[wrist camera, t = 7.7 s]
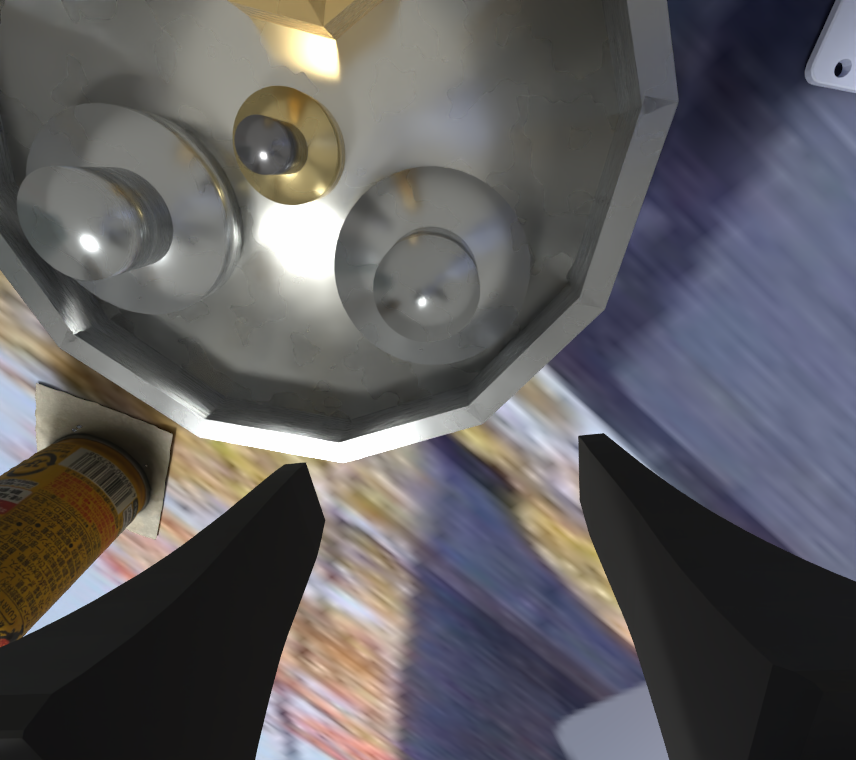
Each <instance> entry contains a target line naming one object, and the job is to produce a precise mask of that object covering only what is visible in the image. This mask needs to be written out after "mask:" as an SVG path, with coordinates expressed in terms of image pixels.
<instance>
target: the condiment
mask: <svg viewBox="0 0 856 760" xmlns="http://www.w3.org/2000/svg"><path fill="white" fill-rule="evenodd" d="M35 396H36V397H35V398H36V411H35V416H36V429H35V431H36V439H37V441H36V442H37V453H35V454H34V455H33V456H31V457H30V458H29V459H27V460H24V461H23V462H21V463H20V464H19V465H17V466H16V467H13V468H11V469H10V470H9V471H7V472H6V473H4V474H2V475H1V476H0V647H2V646H5V645H7V644H9V643H11V642H13V641H16V640H18V639H20V638H22V637H23V636H24V635H25V634H26V633H27V632H28V631H29V630H30V629H31V627H32V626H33V625H34V624H35V623H36V622H37V621H38V620H39V619H40V618H41V617H42V616H43V615H44V614H45V613H46V612H47V611H48V610H49V609H50V608H51V607H52V605H53V604H54V603H55V602H56V601H57V600H58V599H59V598H60V597H61V596H62V595H63V594H64V593H65V592H66V591H67V590H68V589H69V588H70V587H71V585H72V584H73V583H74V582H75V581H76V580H77V579H78V578H79V577H80V576H81V575H82V574H83V573H84V572H85V571H86V570H87V569H88V568H89V566H90V565H91V564H92V563H93V562H94V561H95V560H96V559H97V558H98V557H99V556H100V555H101V554H102V553H103V552H104V551H105V550H106V549H107V548H108V547H109V545H110V544H111V543H112V542H113V541H114V540H115V539H116V538H117V537H118V536H119V535H120V534H121V533H122V532H123V531H124V530H125V529H127V530H129V531H131V532H133V533H137V534H139V535H142V536H145V537H148V538H152V539H155V540H156V537H157V531H158V526H159V521H160V514H161V510H162V505H163V498H164V490H165V479H166V476H167V469H168V465H169V458H170V447H171V442H172V436H173V434H171V433H169V432H167V431H164V430H161V429H158V428H157V427H156V426H154V425H151V424H148V423H146V422H143V421H141V420H138V419H135V418H132V417H130V416H128V415H126V414H123V413H120V412H117V411H115V410H112V409H109V408H106V407H103V406H100V405H99V404H98V403H96V402H90V401H86V400H83V399H80V398H77V397H74V396H72V395H70V394H67V393H65V392H62V391H57V390H54V389H51V388H48V387H45V386H43V385H40V384H37V383H36V394H35ZM78 425H81V426H82V427H81V428H77V426H78ZM72 429H76V431H72ZM145 465H147V466H148V467H147V466H145Z"/></svg>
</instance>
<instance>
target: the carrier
mask: <svg viewBox="0 0 856 760" xmlns="http://www.w3.org/2000/svg"><path fill="white" fill-rule="evenodd" d="M677 101H679V99H678V91H677V82H676V74H675V65H674V57H673V48H672V40H671V32H670V23H669V15H668V6H667V0H383V1H382V2H381V3H380V4H379V5H377V6H376V7H375V8H374V9H373V10H371V11H370V12H369V13H368V14H367V15H366V16H364V17H363V18H362V19H361V20H360V21H358V22H357V23H356V24H355V25H354V26H352V27H351V28H350V29H349V30H348V31H346V32H345V33H344V34H343V35H342V36H341V37H339V38H338V39H337V40H334V39H330V38H326V37H322V36H319V35H315V34H311V33H308V32H304V31H300V30H297V29H293V28H289V27H286V26H282V25H278V24H275V23H271V22H267V21H264V20H260V19H256V18H253V17H249V16H248V15H246V14H245V13H244V12H242V11H241V10H240V9H238V8H237V7H235V6H234V5H233V4H231V3H230V2H229V1H227V0H0V270H1V271H2V273H3V274H4V275H5V277H6V278H7V279H8V281H9V282H10V283H11V285H12V286H13V287H14V289H15V290H16V291H17V292H18V294H19V295H20V296H21V298H22V299H23V300H24V302H25V303H26V304H27V306H28V307H29V308H30V310H31V311H32V312H33V314H34V315H35V316H36V318H37V319H38V320H39V322H40V323H41V324H42V326H43V327H44V328H45V330H46V331H47V332H48V334H49V335H50V336H51V338H52V339H53V340H54V341H55V343H56V344H57V345H58V347H60V349H62V350H64V351H65V352H67V353H68V354H70V355H71V356H73V357H75V358H76V359H78V360H79V361H81V362H82V363H84V364H85V365H87V366H89V367H90V368H92V369H93V370H95V371H96V372H98V373H100V374H101V375H103V376H104V377H106V378H107V379H109V380H111V381H112V382H114V383H115V384H117V385H118V386H120V387H121V388H123V389H125V390H126V391H128V392H129V393H131V394H132V395H134V396H136V397H137V398H139V399H140V400H142V401H143V402H145V403H146V404H148V405H150V406H151V407H153V408H154V409H156V410H157V411H159V412H161V413H162V414H164V415H165V416H167V417H168V418H170V419H172V420H173V421H175V422H176V423H178V424H179V425H181V426H182V427H184V428H186V429H187V430H189V431H190V432H192V433H193V434H195V435H197V436H198V437H201V438H206V439H212V440H218V441H223V442H229V443H234V444H240V445H246V446H251V447H257V448H262V449H268V450H274V451H279V452H285V453H291V454H296V455H302V456H307V457H313V458H319V459H324V460H330V461H336V462H341V463H345V462H348V461H352V460H355V459H359V458H362V457H366V456H370V455H373V454H377V453H380V452H384V451H388V450H391V449H395V448H398V447H402V446H405V445H409V444H413V443H416V442H420V441H423V440H427V439H431V438H434V437H438V436H441V435H445V434H448V433H452V432H456V431H459V430H463V429H466V428H470V427H474V426H477V425H481V424H482V423H484V422H485V421H486V420H487V419H488V418H490V417H491V416H492V415H493V414H494V413H495V412H496V411H497V410H498V409H499V408H500V407H501V406H502V405H503V404H504V403H505V402H507V401H508V400H509V399H510V398H511V397H512V396H513V395H514V394H515V393H516V392H517V391H518V390H519V389H520V388H521V387H522V386H524V385H525V384H526V383H527V382H528V381H529V380H530V379H531V378H532V377H533V376H534V375H535V374H536V373H537V372H538V371H540V370H541V369H542V368H543V367H544V366H545V365H546V364H547V363H548V362H549V361H550V360H551V359H552V358H553V357H554V356H555V355H557V354H558V353H559V352H560V351H561V350H562V349H563V348H564V347H565V346H566V345H567V344H568V343H569V342H570V341H571V340H572V339H574V338H575V337H576V336H577V335H578V334H579V333H580V332H581V331H582V330H583V329H584V328H585V327H586V326H587V325H588V324H590V323H591V322H592V321H593V320H594V319H595V318H596V317H597V316H598V315H599V314H600V313H601V312H602V311H603V310H604V309H605V307H606V304H607V301H608V299H609V296H610V293H611V290H612V287H613V285H614V282H615V279H616V276H617V273H618V271H619V268H620V265H621V262H622V259H623V256H624V254H625V251H626V248H627V245H628V242H629V240H630V237H631V234H632V231H633V228H634V226H635V223H636V220H637V217H638V214H639V212H640V209H641V206H642V203H643V200H644V198H645V195H646V192H647V189H648V186H649V184H650V181H651V178H652V175H653V172H654V170H655V167H656V164H657V161H658V158H659V156H660V153H661V150H662V147H663V144H664V142H665V139H666V136H667V133H668V130H669V128H670V125H671V122H672V119H673V116H674V113H675V111H676V108H677V105H678V102H677Z"/></svg>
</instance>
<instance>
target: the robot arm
mask: <svg viewBox="0 0 856 760" xmlns="http://www.w3.org/2000/svg"><path fill="white" fill-rule="evenodd" d="M838 62H840V63H842V67H843V68H842V72H841V74H840V75H839V76H838V77H836V76H835V74H834V69H835V66H836V65H837V64H838ZM805 79H806V80H807V82H808V83H810V84H812V85H816V86H821V87H826V88H832V89H837V90H842V91H847V92H852V93H856V0H836V1H835V3H834V5H833V7H832V10H831V12H830V14H829V16H828V18H827V21H826V23H825V25H824V27H823V29H822V32H821V34H820V36H819V38H818V41H817V43H816V45H815V47H814V49H813V52H812V54H811V56H810V58H809V61H808V63H807V65H806V69H805ZM578 439H579V488H580V503H581V506H582V510H583V514H584V517H585V521H586V524H587V528H588V531H589V535H590V537H591V540H592V542H593V545H594V547H595V550H596V552H597V554H598V557H599V559H600V562H601V564H602V566H603V569H604V571H605V574H606V576H607V578H608V581H609V583H610V585H611V588H612V590H613V592H614V595H615V597H616V600H617V602H618V604H619V607H620V609H621V611H622V614H623V616H624V618H625V621H626V623H627V626H628V629H629V631H630V634H631V637H632V639H633V642H634V645H635V648H636V652H637V655H638V658H639V661H640V664H641V667H642V671H643V674H644V677H645V680H646V683H647V686H648V689H649V693H650V696H651V699H652V703H653V706H654V710H655V713H656V716H657V719H658V723H659V726H660V729H661V733H662V736H663V739H664V743H665V746H666V750H667V753H668V757H669V760H856V582H855V581H853V580H851V579H848V578H846V577H843V576H841V575H838V574H836V573H833V572H831V571H829V570H827V569H824V568H822V567H820V566H817V565H815V564H813V563H811V562H808V561H806V560H804V559H802V558H800V557H798V556H795V555H793V554H791V553H789V552H787V551H785V550H783V549H781V548H779V547H777V546H775V545H772V544H770V543H768V542H766V541H764V540H762V539H760V538H759V537H757V536H755V535H753V534H751V533H749V532H747V531H745V530H743V529H742V528H740V527H738V526H736V525H734V524H733V523H731V522H729V521H727V520H726V519H724V518H722V517H720V516H718V515H717V514H715V513H713V512H712V511H710V510H708V509H707V508H705V507H703V506H702V505H700V504H699V503H697V502H696V501H694V500H693V499H691V498H690V497H688V496H686V495H685V494H683V493H682V492H680V491H679V490H677V489H676V488H674V487H673V486H672V485H670V484H669V483H667V482H666V481H664V480H663V479H662V478H660V477H659V476H658V475H656V474H655V473H653V472H652V471H651V470H649V469H648V468H647V467H645V466H644V465H643V464H642V463H640V462H639V461H638V460H636V459H635V458H634V457H633V456H631V455H630V454H629V453H628V452H626V451H625V450H624V449H623V448H621V447H620V446H619V445H618V444H616V443H615V442H614V441H613V440H611V439H610V438H609V437H608V436H606V435H605V434H604V433H602V434H592V435H582V436H578ZM324 524H325V518H324V515H323V512H322V509H321V506H320V503H319V500H318V497H317V494H316V491H315V488H314V486H313V483H312V480H311V477H310V474H309V471H308V468H307V465H306V463H295V464H285V465H283V466H282V467H280V468H279V469H278V470H276V471H275V472H274V473H272V474H271V475H270V476H269V477H267V478H266V479H265V480H264V481H263V482H261V483H260V484H259V485H258V486H257V487H255V488H254V489H253V490H252V491H251V492H249V493H248V494H247V495H246V496H244V497H243V498H242V499H241V500H240V501H238V502H237V503H236V504H235V505H234V506H232V507H231V508H230V509H229V510H228V511H226V512H225V513H224V514H223V515H221V516H220V517H219V518H217V519H216V520H215V521H214V522H212V523H211V524H210V525H208V526H207V527H206V528H204V529H203V530H202V531H201V532H199V533H198V534H197V535H195V536H194V537H193V538H191V539H190V540H189V541H187V542H186V543H185V544H183V545H182V546H181V547H179V548H178V549H176V550H175V551H173V552H172V553H171V554H169V555H168V556H166V557H165V558H163V559H162V560H160V561H159V562H157V563H156V564H154V565H153V566H151V567H150V568H148V569H146V570H145V571H143V572H142V573H140V574H139V575H137V576H135V577H134V578H132V579H130V580H128V581H127V582H125V583H123V584H122V585H120V586H118V587H117V588H115V589H113V590H111V591H110V592H108V593H106V594H105V595H103V596H101V597H100V598H98V599H96V600H94V601H93V602H91V603H89V604H87V605H85V606H83V607H81V608H80V609H78V610H76V611H74V612H72V613H70V614H68V615H66V616H65V617H63V618H61V619H59V620H57V621H55V622H53V623H51V624H49V625H47V626H45V627H43V628H41V629H39V630H37V631H35V632H33V633H30V634H28V635H26V636H24V637H22V638H20V639H18V640H16V641H13V642H11V643H9V644H7V645H5V646H2V647H0V760H255V757H256V753H257V748H258V743H259V739H260V735H261V731H262V727H263V723H264V719H265V715H266V710H267V706H268V702H269V698H270V694H271V691H272V687H273V683H274V679H275V676H276V672H277V668H278V665H279V661H280V657H281V654H282V651H283V648H284V645H285V642H286V639H287V636H288V633H289V630H290V628H291V625H292V623H293V620H294V617H295V615H296V612H297V609H298V607H299V604H300V601H301V599H302V596H303V593H304V591H305V588H306V585H307V583H308V580H309V577H310V574H311V572H312V569H313V566H314V563H315V561H316V558H317V555H318V551H319V547H320V542H321V538H322V533H323V528H324Z"/></svg>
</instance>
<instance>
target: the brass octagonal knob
mask: <svg viewBox="0 0 856 760" xmlns="http://www.w3.org/2000/svg"><path fill="white" fill-rule="evenodd" d="M227 1H229V2H230V3H231V4H233V5H234V6H235V7H237V8H238V9H240V10H241V11H242V12H244V13H245V14H246V15H248V16H249V17H253V18H256V19H260V20H264V21H267V22H271V23H275V24H278V25H282V26H286V27H289V28H293V29H297V30H300V31H304V32H308V33H311V34H315V35H319V36H322V37H326V38H330V39H334V40H337V39H338V38H339V37H341V36H342V35H343V34H344V33H345V32H346V31H348V30H349V29H350V28H351V27H352V26H354V25H355V24H356V23H357V22H358V21H360V20H361V19H362V18H363V17H364V16H366V15H367V14H368V13H369V12H370V11H371V10H373V9H374V8H375V7H376V6H377V5H379V4H380V3H381V2H382V1H383V0H227Z"/></svg>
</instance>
